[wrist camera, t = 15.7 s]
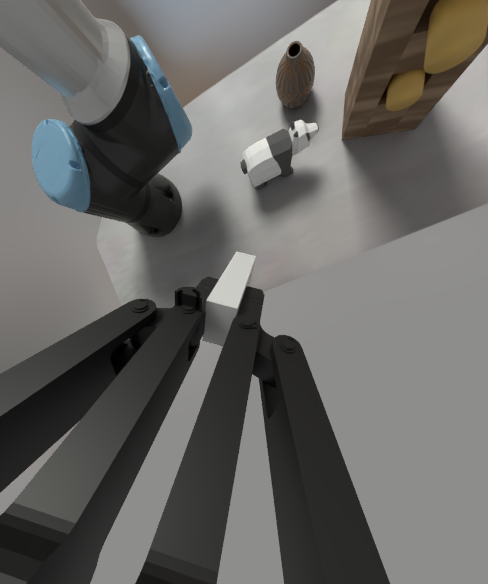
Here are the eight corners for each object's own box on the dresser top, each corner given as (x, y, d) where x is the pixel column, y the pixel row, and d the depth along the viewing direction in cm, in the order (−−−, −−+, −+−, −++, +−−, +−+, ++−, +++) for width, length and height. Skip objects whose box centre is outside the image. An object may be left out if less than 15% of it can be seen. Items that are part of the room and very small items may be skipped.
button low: (412, 108, 28) (430, 83, 24) (381, 113, 29) (393, 90, 25) (416, 77, 28) (435, 46, 24) (384, 83, 29) (397, 55, 25)
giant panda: (253, 194, 44) (241, 175, 34) (245, 171, 43) (231, 145, 34) (319, 161, 39) (325, 129, 30) (310, 135, 39) (314, 95, 30)
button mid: (461, 68, 20) (501, 19, 16) (414, 77, 21) (441, 34, 17) (468, 22, 19) (511, -40, 15) (420, 34, 20) (448, -21, 16)
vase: (320, 87, 38) (327, 35, 29) (296, 122, 39) (296, 83, 31) (293, 69, 38) (292, 14, 30) (271, 104, 40) (264, 61, 32)
